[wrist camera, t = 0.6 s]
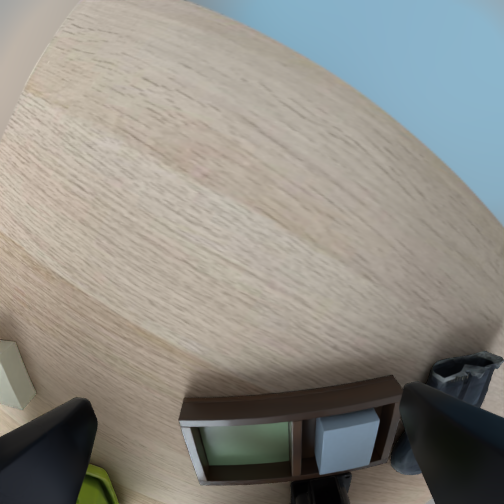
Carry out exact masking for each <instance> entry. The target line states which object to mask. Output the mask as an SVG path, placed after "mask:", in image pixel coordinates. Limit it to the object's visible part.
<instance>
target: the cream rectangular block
mask: <svg viewBox="0 0 504 504" xmlns="http://www.w3.org/2000/svg"><path fill="white" fill-rule="evenodd" d="M36 394H37V393H36V391H35V389H34V387H33V384H32V382H31V380H30V378H29V375H28V373H27V370H26V368H25V366H24V363H23V361H22V358H21V355H20V353H19V350H18V347H17V345H16V342H15V341H5V340H0V404H2V405H6V406H9V407H13V408H17V409H21V410H23V409H24V408H25V407H26V406H27V405H28V403H29V402H30V401H31V400H32V399H33V397H34V396H35V395H36Z"/></svg>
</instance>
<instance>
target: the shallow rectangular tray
mask: <svg viewBox="0 0 504 504" xmlns="http://www.w3.org/2000/svg"><path fill="white" fill-rule="evenodd" d="M402 392H403V389H402V387H401V386H400V385H399V383H398V382H397V380H396V379H395V377H394V376H393V375H390V376H385V377H380V378H376V379H371V380H366V381H360V382H355V383H349V384H343V385H337V386H331V387H324V388H317V389H310V390H302V391H294V392H285V393H275V394H264V395H251V396H236V397H213V398H184V400H183V404H182V408H181V412H180V416H179V423H180V426H181V430H182V433H183V437H184V440H185V443H186V446H187V449H188V452H189V455H190V458H191V461H192V463H193V466H194V469H195V472H196V475H197V477H198V480H199V483H200V485H251V484H267V483H278V482H288V481H296V480H304V479H311V478H318V477H324V476H329V475H335V474H340V473H345V472H350V471H355V470H359V469H363V468H368V467H372V466H376V465H379V464H383V463H386V462H387V460H388V457H389V454H390V451H391V447H392V444H393V441H394V437H395V434H396V430H397V427H398V423H399V419H400V412H399V404H400V400H401V396H402ZM369 408H374V410H375V412H376V414H377V416H378V418H379V419H380V422H379V426H378V431H377V435H376V439H375V444H374V448H373V452H372V455H371V459H370V463H369V465H366V466H362V467H358V468H353V469H348V470H344V471H339V472H333V473H328V474H322V475H320V474H319V470H318V466H317V461H316V457H315V453H314V448H315V431H316V418H320V417H327V416H333V415H339V414H344V413H350V412H355V411H360V410H365V409H369Z"/></svg>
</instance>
